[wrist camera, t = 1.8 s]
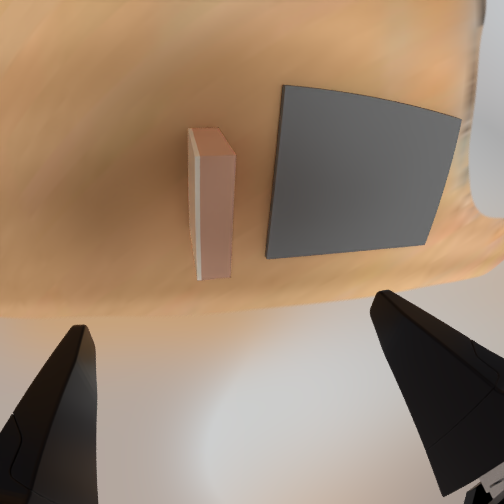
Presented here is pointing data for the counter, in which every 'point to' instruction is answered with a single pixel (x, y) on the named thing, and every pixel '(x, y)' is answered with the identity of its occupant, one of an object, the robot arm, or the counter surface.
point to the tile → (211, 201)
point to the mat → (355, 173)
